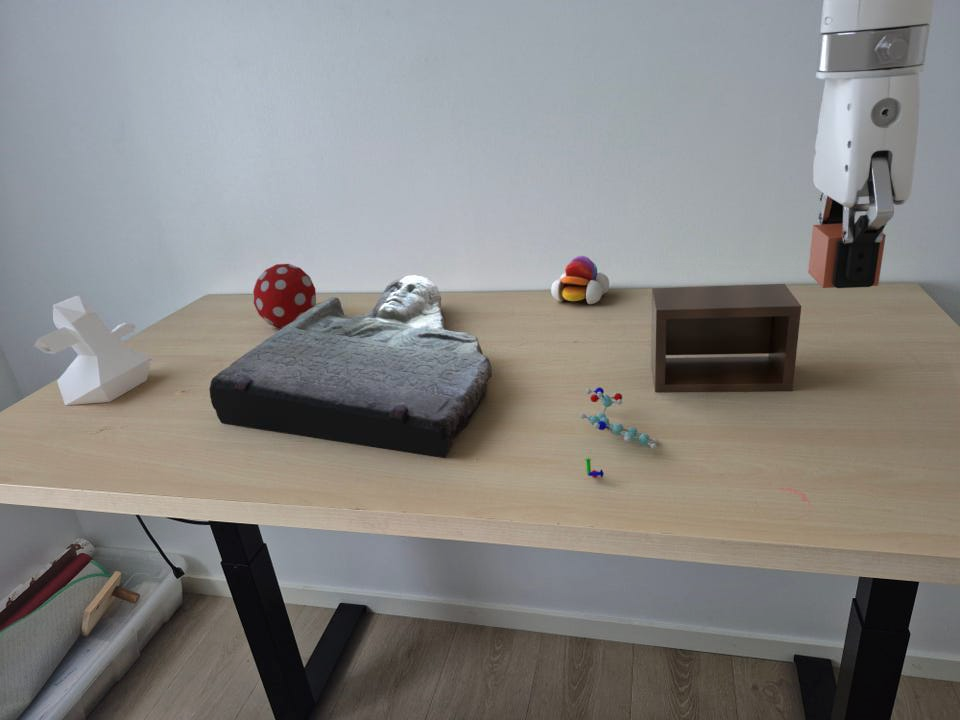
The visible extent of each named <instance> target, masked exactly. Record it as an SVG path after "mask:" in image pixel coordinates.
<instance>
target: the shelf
mask: <svg viewBox="0 0 960 720" xmlns="http://www.w3.org/2000/svg"><path fill="white" fill-rule="evenodd" d="M801 315H802V305H801V304H800V302H799V301H798V299H797V298H796V297H795V295H794V294H793V293H792V291H791V290H790V289H789V287H788V286H787V285H786V283H773V284H772V283H769V284H740V285H739V284H738V285H737V284H736V285H711V286H709V285H707V286H678V287H677V286H676V287H652V288H651V315H650V316H651V317H650V318H651V319H650V321H651V323H650V324H651V325H650V327H651V328H650V330H651V331H650V368H652V369H651V374H652V381H653V387H654V392H655V393H683V392H684V393H687V392H688V393H691V392H692V393H693V392H700V393H701V392H702V393H703V392H705V393H706V392H707V393H709V392H793V390H794V381H795V380H794V379H795V370H796V362H797V361H796V360H797V352H798V344H799V343H798V342H799V331H800V323H801ZM762 354H763V356H762ZM766 354H768V355H766ZM702 355H703V356H704V357H703V356H702ZM705 355H706V356H705ZM708 355H709V356H708ZM710 355H711V356H710ZM712 355H761V356H712ZM764 355H765V356H764ZM667 356H695V357H667ZM696 356H697V357H696ZM701 356H702V357H701Z"/></svg>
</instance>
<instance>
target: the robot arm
mask: <svg viewBox="0 0 960 720" xmlns="http://www.w3.org/2000/svg"><path fill="white" fill-rule="evenodd" d="M934 3H935V0H823V2H822V10H821V19H820V20H821V22H820V34H819V42H818V51H817V61H816V73H815V79H818V80H825V82H824V86H823V92H822V97H821V104H820V109H819V116H818V124H817V130H816V136H815V138H816V139H815V146H814V153H813V155H814V156H813V168H812V169H813V170H812V171H813V172H812V180H813V185H814V187H815V188H816V189H817V190H818V191H820V192H821V194H820V197H819V201H820V207H819V211H818V218H817V222H818V225H821V224H840V223H843V231H842V240H843V241H837V247H836V256H835V264H834V272H833V281H832V284H833V285H834V286H835V287H836V289H854V288H856V289H857V288H870V287H873V286H872V285H873V284H874V282H875V275H876V268H877V261H878V254H879V247H880V242H881V241H882V239H883V233H884V229H885V227H886V226H887V224H888V223H889V221H891V219H892V218H893V217H894V213H895V207H894V205H895V206H901V205H904V204H905V203H907V202H908V201H909V199H910V198H911V195H912V194H911V193H912V188H913V179H914V171H915V163H916V154H917V144H918V135H919V120H920V93H921V92H920V73H923V72H924V67H925V61H926V57H927V56H926V54H927V48H928V41H929V36H930V29H931V22H932V16H933V9H934ZM863 197H864V198H865V197H868V202H869V203H859V200H860V198H863ZM858 212H859V213H861V212H866V214H861V215H860V216H859V217H858V218H857V220H856V213H858Z"/></svg>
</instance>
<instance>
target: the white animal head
mask: <svg viewBox="0 0 960 720" xmlns="http://www.w3.org/2000/svg"><path fill="white" fill-rule="evenodd" d="M52 320H53V325H55V327H56V330H54V331H52V332H49V333H47V334H45V335H42V336H40V337H38V338H37V339H36V341H35V343H34V346H33V347H34V348H36V349H38V350H40V351H41V352H43V353H44V354H54V355H55V354H56V353H59V352H61V351H63V350H65V349H67V348H69V347H71V348H72V349H73V350H74V351H75V353H76V354H77V356H76V357H75V358H74V360H72V362H71V363H70V364H69V365H68V367H67V368H66V369H65V371H64V372H63V373H62V374H61V376H60V377H59V378H58V379H57V380H56V383H57V385H58V389H59V391H60V395H61V397H62V400H63V403H64V406H73V405H75V406H76V405H87V404H101V403H110V402H112V401H114V400H115V399H118V398H120V397H121V396H122V395H125V394H126V393H128V392H129V391H131V390H133V389H135V388H137V387H138V386H140V385H141V384H143V383H145V382H147V380H148V375H149V372H150V368H151V365H152V361H153V356H151V355H148V354H145V353H143V352H140V351H138V350H134V349H132V348H130V347H127V346H124V345H122V342H123V340H122V338H123V337H126V336H128V335H130V334H132V333H134V332H135V330H136V328H137V327H136V325H135V324H134V323H128V322H123V323H120V324H118V325H117V326H115V328H113V329H112V330H110V329H109V327H108V326H106V324H105V323H104V322H103V320H102V319H101V318H100V317H99V315H98V314H97V312H96V311H94V310H93V308H92V307H91V306H90V305H89V304H88V303H87V302H86V301H85V300H84V299H83V298H82V297H81V296H80V295H79V294H77V295H74V296H72V297H69V298H67V299H64V300H62V301H59V302H56V303H54V304H53V305H52ZM121 337H122V338H121Z"/></svg>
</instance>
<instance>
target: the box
mask: <svg viewBox="0 0 960 720" xmlns="http://www.w3.org/2000/svg"><path fill="white" fill-rule="evenodd" d="M811 231H812V232H811V239H810V248H809V249H810V250H809V258H808V259H809V260H808V269H807V274H808V275H810V277H811V278H813V279H814V280H815V282H816V283H818V285H819V286H820V287H821V288H822V289H831V288H836V287H835V286H834V285H833V284H832V281H833V272H834V264H835V256H836V247H837V241H843V240H842V231H843V223H840V224H821V225H819V224H812V230H811ZM886 236H887V235H886V233H884V232H883V239H882V241H881V242H880V247H879V254H878V261H877V268H876V275H875V282H874V284H873V285H872V286H871V287H878V286H879V285H880V284H879V282H880V276H881V269H882V263H883V256H884V250H885V242H886ZM836 289H837V288H836Z"/></svg>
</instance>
